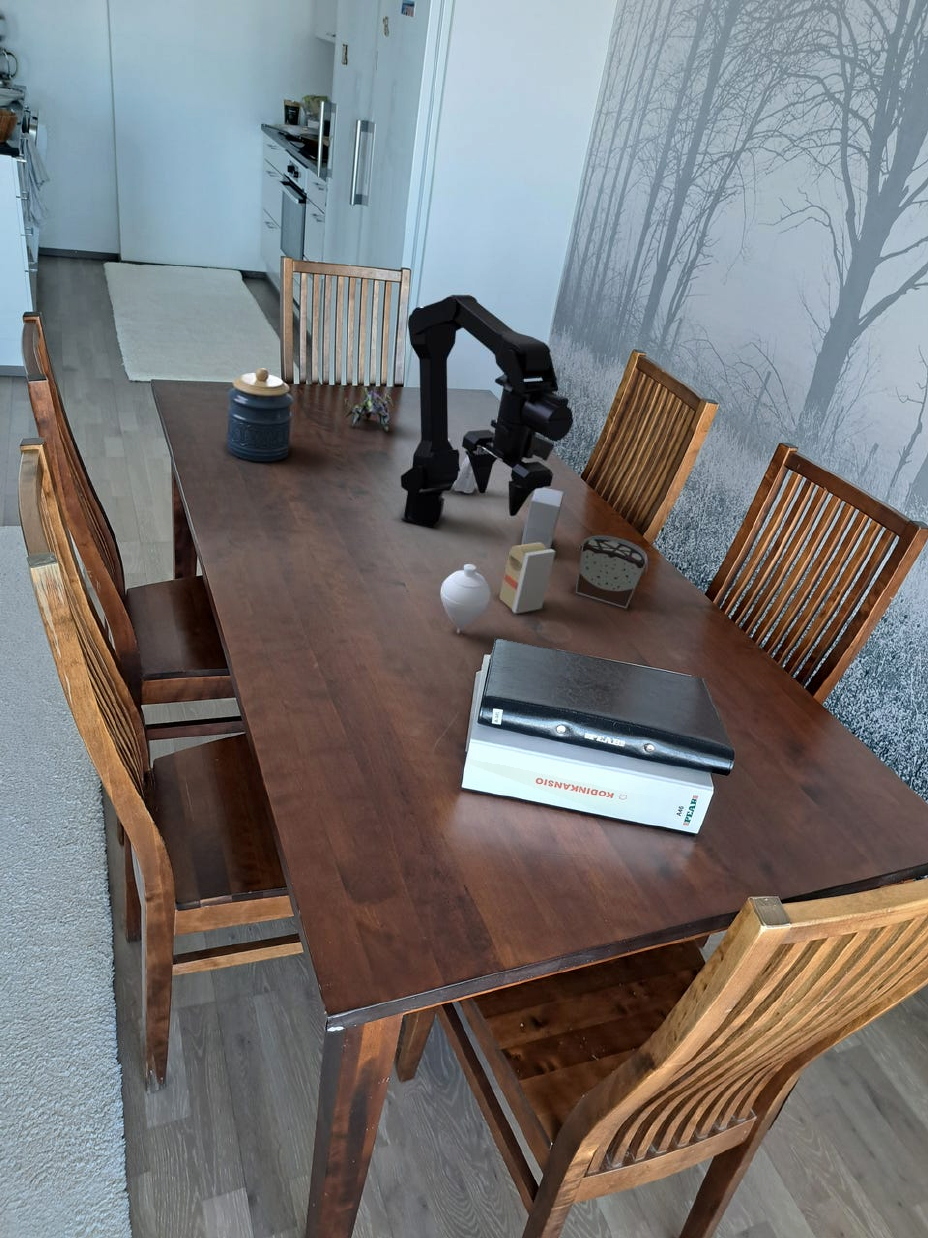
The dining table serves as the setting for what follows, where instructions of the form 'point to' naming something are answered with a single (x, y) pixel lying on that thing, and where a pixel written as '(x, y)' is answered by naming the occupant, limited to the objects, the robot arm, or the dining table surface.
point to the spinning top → (465, 596)
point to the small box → (542, 517)
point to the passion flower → (372, 408)
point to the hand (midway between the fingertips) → (497, 504)
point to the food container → (610, 569)
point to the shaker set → (465, 477)
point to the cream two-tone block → (526, 577)
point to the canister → (259, 417)
